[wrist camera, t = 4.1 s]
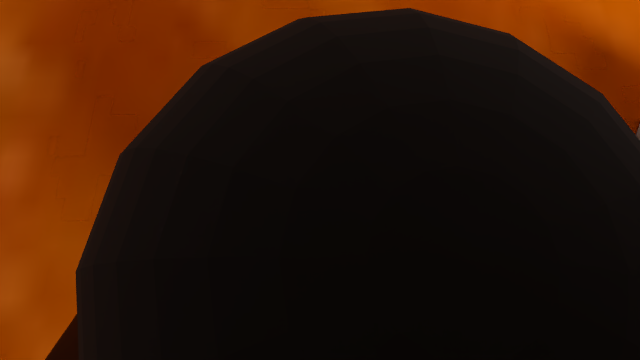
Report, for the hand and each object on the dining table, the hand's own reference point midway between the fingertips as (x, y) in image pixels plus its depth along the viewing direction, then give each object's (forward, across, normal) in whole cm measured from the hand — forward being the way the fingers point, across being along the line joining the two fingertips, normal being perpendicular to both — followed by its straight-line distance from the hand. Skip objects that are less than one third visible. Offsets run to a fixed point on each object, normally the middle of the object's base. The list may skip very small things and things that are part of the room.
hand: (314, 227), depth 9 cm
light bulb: (+4, 0, +6) cm, 7 cm away
